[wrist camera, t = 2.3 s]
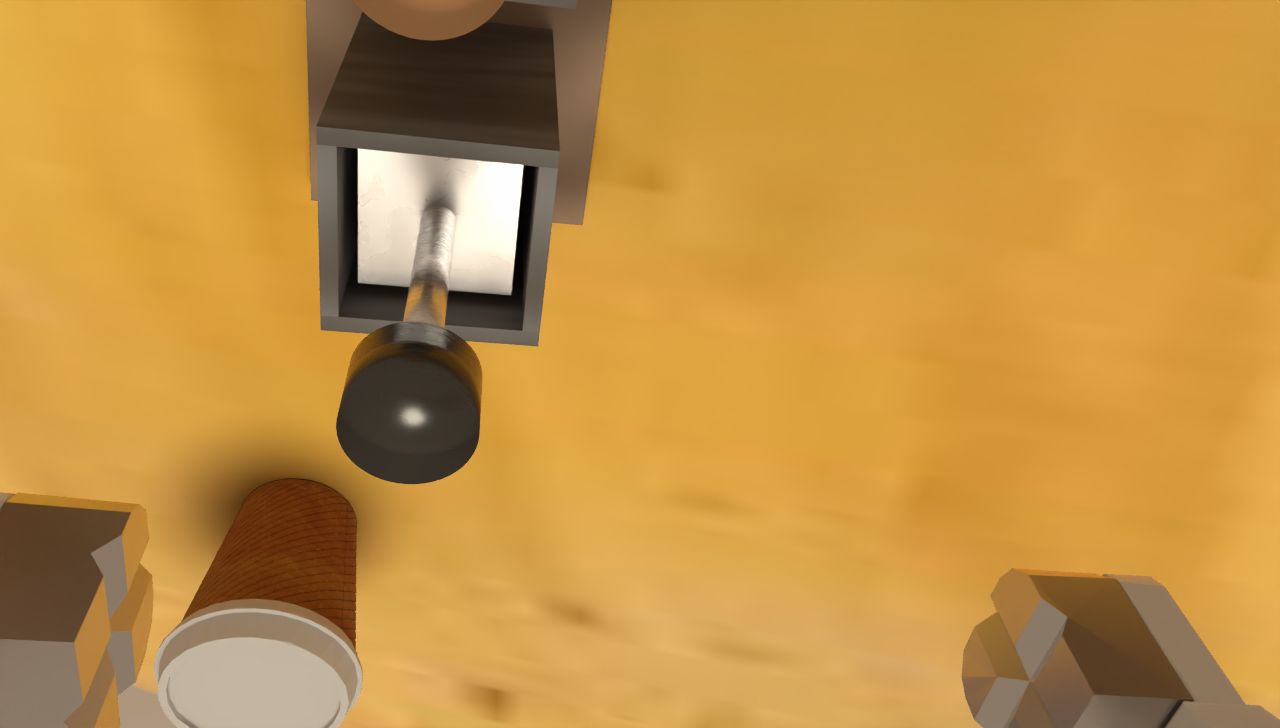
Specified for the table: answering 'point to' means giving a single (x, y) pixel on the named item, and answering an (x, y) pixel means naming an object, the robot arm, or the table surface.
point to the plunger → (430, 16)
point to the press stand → (454, 140)
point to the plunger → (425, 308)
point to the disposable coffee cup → (270, 619)
